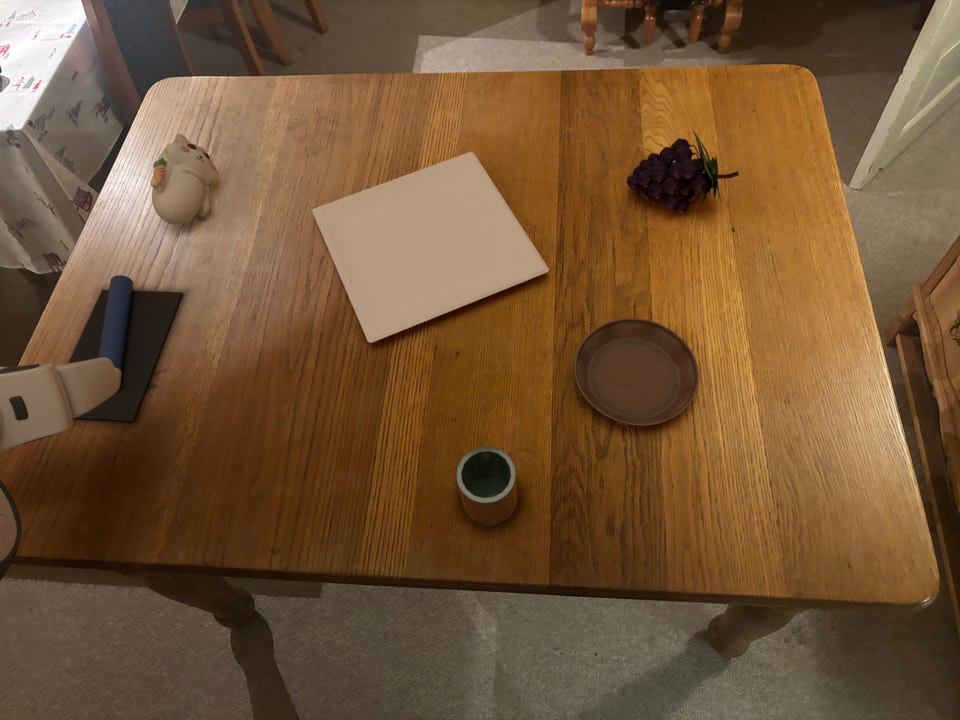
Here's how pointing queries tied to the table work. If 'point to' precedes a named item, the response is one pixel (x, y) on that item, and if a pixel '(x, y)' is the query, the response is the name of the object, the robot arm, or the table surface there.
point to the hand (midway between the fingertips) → (48, 376)
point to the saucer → (636, 371)
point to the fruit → (677, 175)
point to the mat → (130, 349)
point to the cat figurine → (182, 182)
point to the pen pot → (487, 485)
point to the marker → (116, 321)
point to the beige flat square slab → (425, 245)
